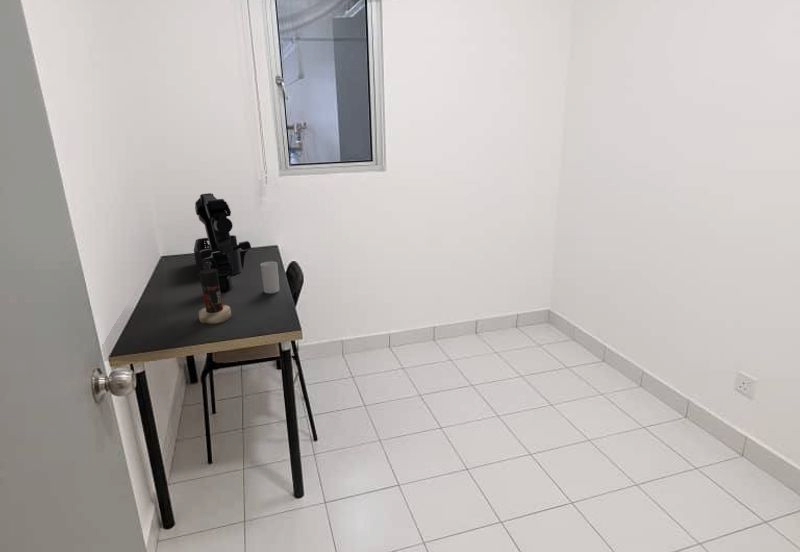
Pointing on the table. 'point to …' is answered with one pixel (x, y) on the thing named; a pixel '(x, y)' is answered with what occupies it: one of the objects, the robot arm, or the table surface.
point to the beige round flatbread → (215, 315)
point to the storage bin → (201, 263)
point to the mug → (270, 277)
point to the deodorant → (211, 290)
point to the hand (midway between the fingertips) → (230, 270)
